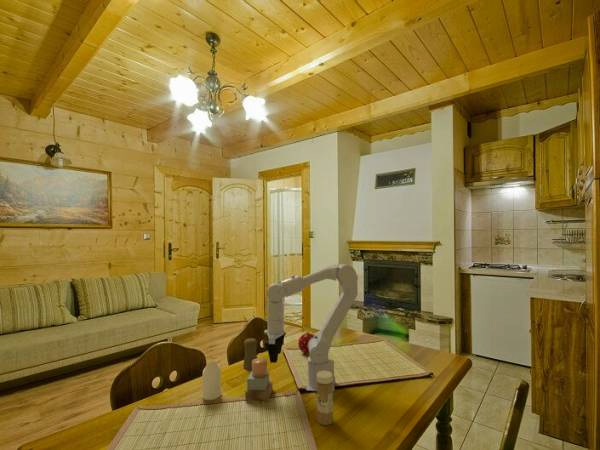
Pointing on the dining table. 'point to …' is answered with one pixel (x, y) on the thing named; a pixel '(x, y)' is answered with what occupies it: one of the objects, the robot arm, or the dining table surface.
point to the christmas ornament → (305, 342)
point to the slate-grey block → (257, 382)
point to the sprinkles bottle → (325, 397)
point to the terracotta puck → (259, 367)
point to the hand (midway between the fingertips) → (275, 357)
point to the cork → (249, 353)
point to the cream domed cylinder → (211, 381)
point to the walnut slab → (259, 394)
